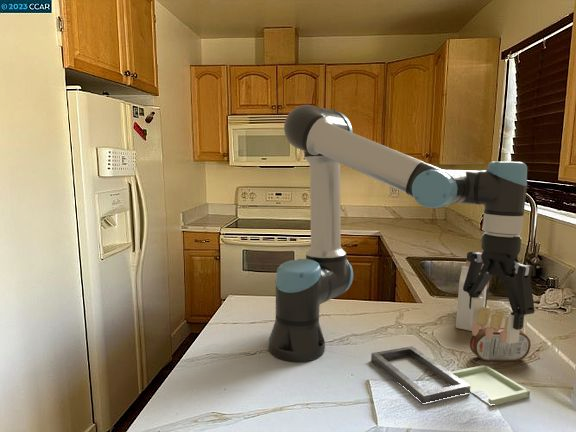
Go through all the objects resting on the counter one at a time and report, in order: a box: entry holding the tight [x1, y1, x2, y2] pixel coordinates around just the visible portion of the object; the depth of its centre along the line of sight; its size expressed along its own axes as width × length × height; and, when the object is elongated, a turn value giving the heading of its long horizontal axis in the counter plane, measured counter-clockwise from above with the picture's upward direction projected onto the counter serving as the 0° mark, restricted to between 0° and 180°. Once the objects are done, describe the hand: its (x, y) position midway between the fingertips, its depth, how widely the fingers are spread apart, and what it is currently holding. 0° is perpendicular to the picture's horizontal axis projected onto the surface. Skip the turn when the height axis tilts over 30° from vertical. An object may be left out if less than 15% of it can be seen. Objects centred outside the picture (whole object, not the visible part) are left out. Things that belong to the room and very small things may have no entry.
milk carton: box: [455, 265, 487, 332], centre depth 123 cm, size 7×7×19 cm
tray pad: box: [450, 364, 531, 406], centre depth 91 cm, size 11×12×1 cm
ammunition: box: [471, 307, 508, 343], centre depth 89 cm, size 5×7×8 cm
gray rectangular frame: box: [370, 345, 471, 403], centre depth 95 cm, size 12×20×2 cm, turn 20°
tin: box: [469, 326, 532, 362], centre depth 103 cm, size 15×3×8 cm, turn 92°
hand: (492, 332), depth 89 cm, fingers closed on ammunition, 9 cm apart
